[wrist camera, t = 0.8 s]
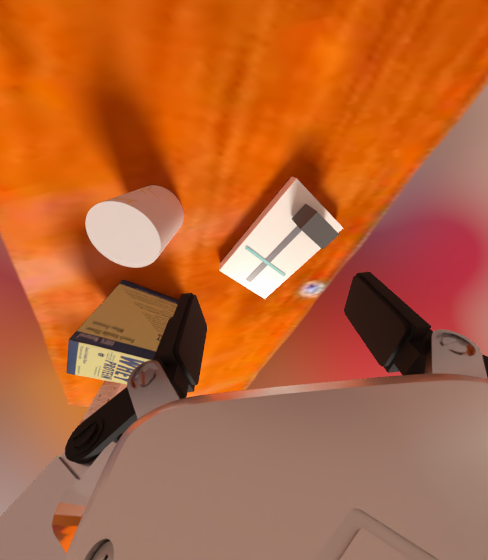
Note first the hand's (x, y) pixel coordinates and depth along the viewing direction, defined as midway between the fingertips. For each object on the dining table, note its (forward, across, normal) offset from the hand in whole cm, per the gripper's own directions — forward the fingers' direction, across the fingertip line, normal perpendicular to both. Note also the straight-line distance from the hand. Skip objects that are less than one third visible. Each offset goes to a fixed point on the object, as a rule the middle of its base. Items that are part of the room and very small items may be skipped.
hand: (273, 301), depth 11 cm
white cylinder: (+25, +15, -1) cm, 29 cm away
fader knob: (+21, -9, +3) cm, 23 cm away
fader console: (+25, -4, +8) cm, 26 cm away
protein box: (+25, +26, +20) cm, 41 cm away
